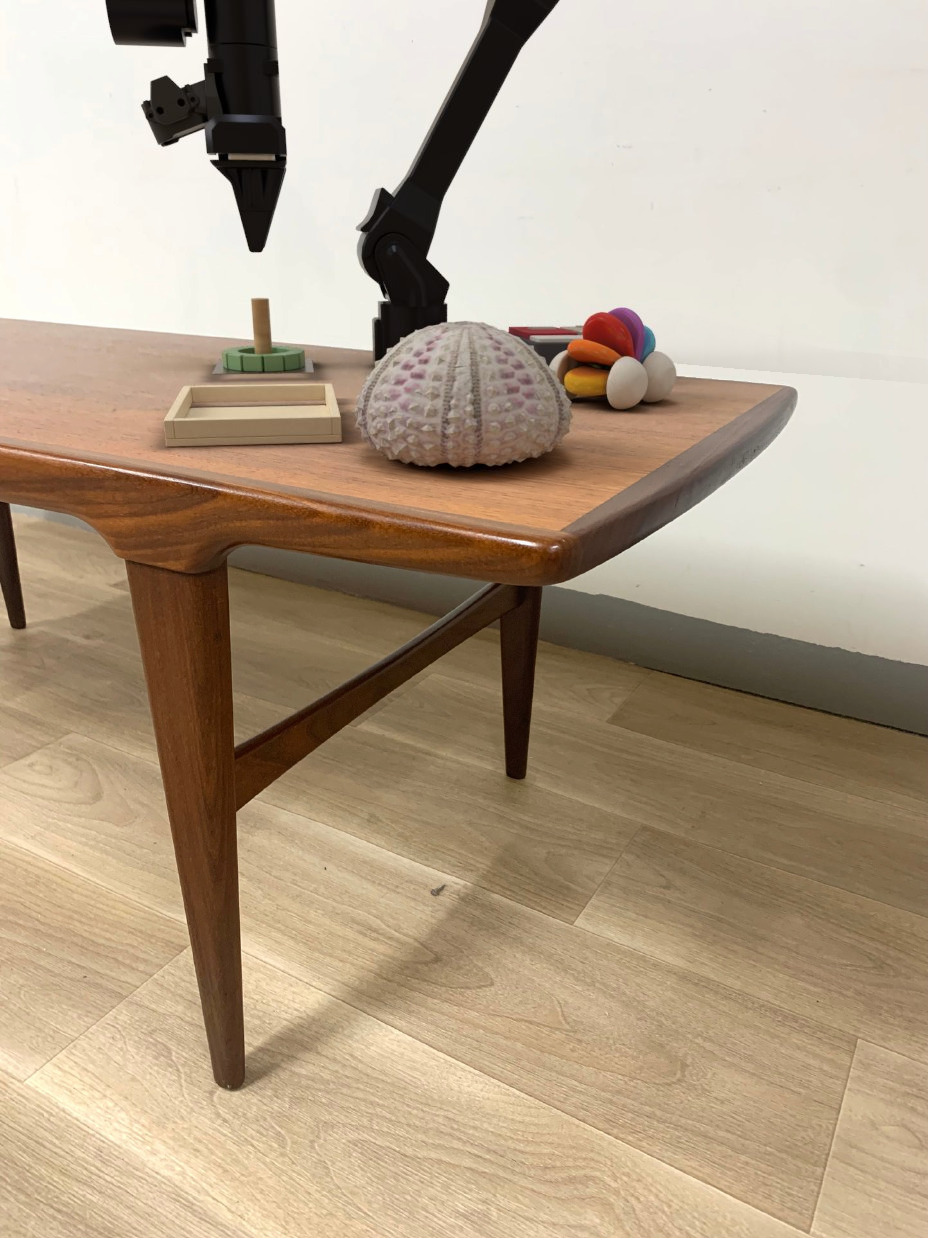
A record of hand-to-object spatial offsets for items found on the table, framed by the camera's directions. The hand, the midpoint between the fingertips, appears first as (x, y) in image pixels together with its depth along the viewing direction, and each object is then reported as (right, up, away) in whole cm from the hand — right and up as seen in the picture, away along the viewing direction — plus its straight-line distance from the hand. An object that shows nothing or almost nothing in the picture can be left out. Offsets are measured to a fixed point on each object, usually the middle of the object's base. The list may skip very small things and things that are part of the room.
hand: (257, 250), depth 85 cm
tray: (+4, -19, -18) cm, 26 cm away
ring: (0, -9, +4) cm, 10 cm away
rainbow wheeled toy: (+30, -15, -8) cm, 35 cm away
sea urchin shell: (+19, -23, -25) cm, 39 cm away
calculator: (+29, -10, +6) cm, 31 cm away
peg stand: (0, -10, +4) cm, 11 cm away
